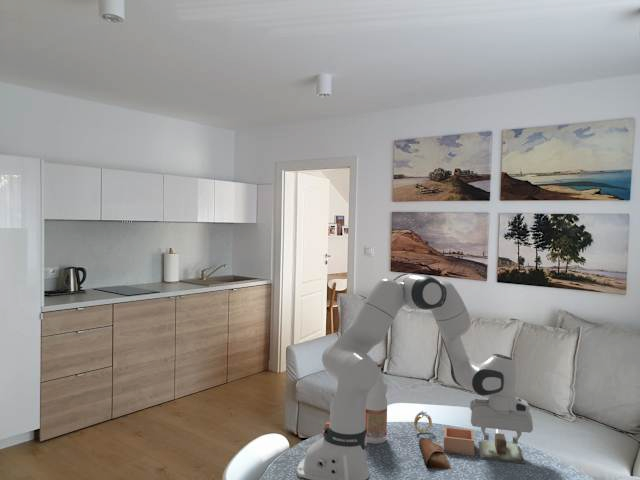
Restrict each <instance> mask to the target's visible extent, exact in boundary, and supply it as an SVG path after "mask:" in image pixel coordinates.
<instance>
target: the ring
mask: <svg viewBox="0 0 640 480" xmlns="http://www.w3.org/2000/svg"><path fill="white" fill-rule="evenodd" d="M423 417H426V418H427V420H428V425H427V426H426V428H425V429H419V428H418V422H419V420H420V419H422V418H423ZM432 420H433V419H432V417H431V416H430V415H429V414H428V413H427V411H425V412H424V411H423V410H422V411H419V412H418V413H417V414H416V416H415V418H414V421H413V426H414V429H415V430H416V431H418V433H422V434H424V433H427V432H428V431H429V430H430V429H431V427H432V425H433V424H432V423H433V421H432ZM423 432H424V433H423Z"/></svg>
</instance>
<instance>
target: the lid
mask: <svg viewBox="0 0 640 480" xmlns="http://www.w3.org/2000/svg"><path fill="white" fill-rule="evenodd" d="M480 442H481V445H482V452H483V457H490V458H498V459H506V460H514V461H521V457H520V454H519V451H518V447H517V446H518V444H513V443H507V440H506V436H505V434H504V433H498V432H494V441H489V440H481V441H480Z"/></svg>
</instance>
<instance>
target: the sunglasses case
mask: <svg viewBox="0 0 640 480" xmlns="http://www.w3.org/2000/svg"><path fill="white" fill-rule="evenodd" d="M418 446H419V448H420V452H421V454H422V455H421V456H422V457H423V461H424V464H425V466H426V468H427V469H429V470H430V469H431V470H452V468H451V465H450V463H449V460H448V458H447V455H446V452H444V446H442V445H439V444H438V443H435V442H433V441H431V440H430V439H429V438H427V437H421V438H419V441H418Z"/></svg>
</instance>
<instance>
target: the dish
mask: <svg viewBox="0 0 640 480" xmlns="http://www.w3.org/2000/svg"><path fill="white" fill-rule="evenodd" d="M443 429H444V434H443V450H444V453H452V454H459V455H460V454H461V455H467V456H468V455H469V456H475V434H474V429H468V428H460V427H459V428H457V427H449V426H444V428H443Z"/></svg>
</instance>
